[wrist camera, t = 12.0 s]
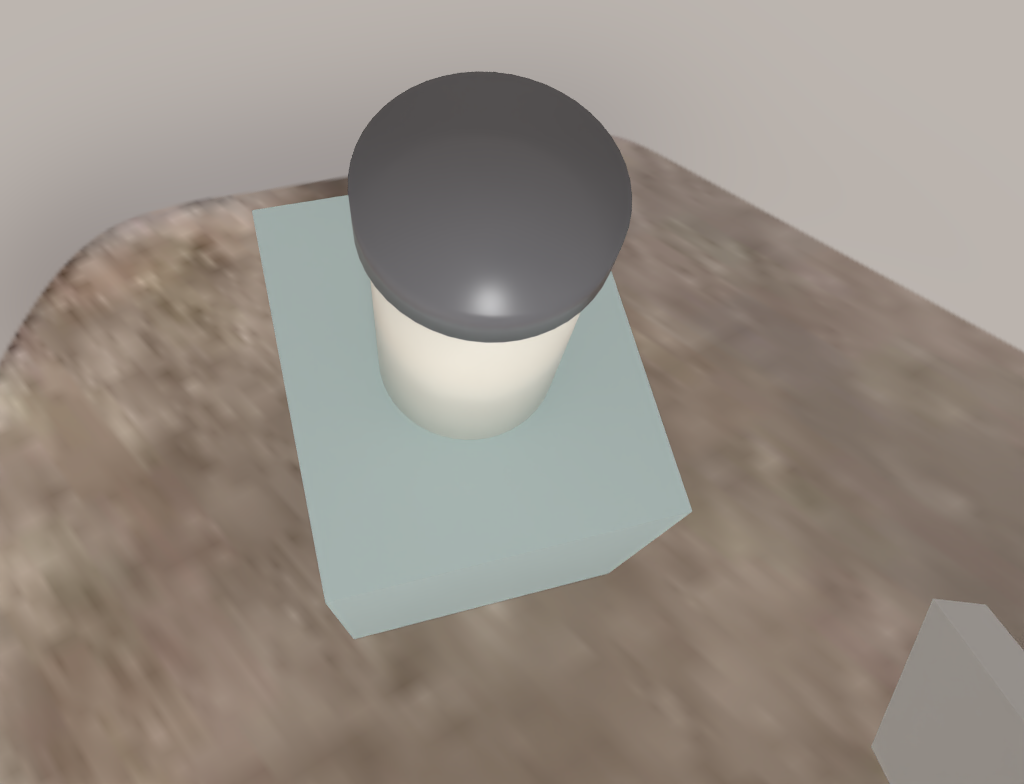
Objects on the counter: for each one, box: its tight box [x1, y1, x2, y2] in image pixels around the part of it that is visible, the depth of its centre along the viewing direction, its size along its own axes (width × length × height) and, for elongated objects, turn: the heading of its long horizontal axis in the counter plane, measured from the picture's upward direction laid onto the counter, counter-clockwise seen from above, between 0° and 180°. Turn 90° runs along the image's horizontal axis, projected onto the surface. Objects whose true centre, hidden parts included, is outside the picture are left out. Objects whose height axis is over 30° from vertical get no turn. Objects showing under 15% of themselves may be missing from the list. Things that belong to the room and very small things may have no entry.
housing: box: [252, 195, 692, 639], centre depth 35 cm, size 12×14×13 cm
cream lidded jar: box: [348, 72, 632, 440], centre depth 24 cm, size 7×7×10 cm
